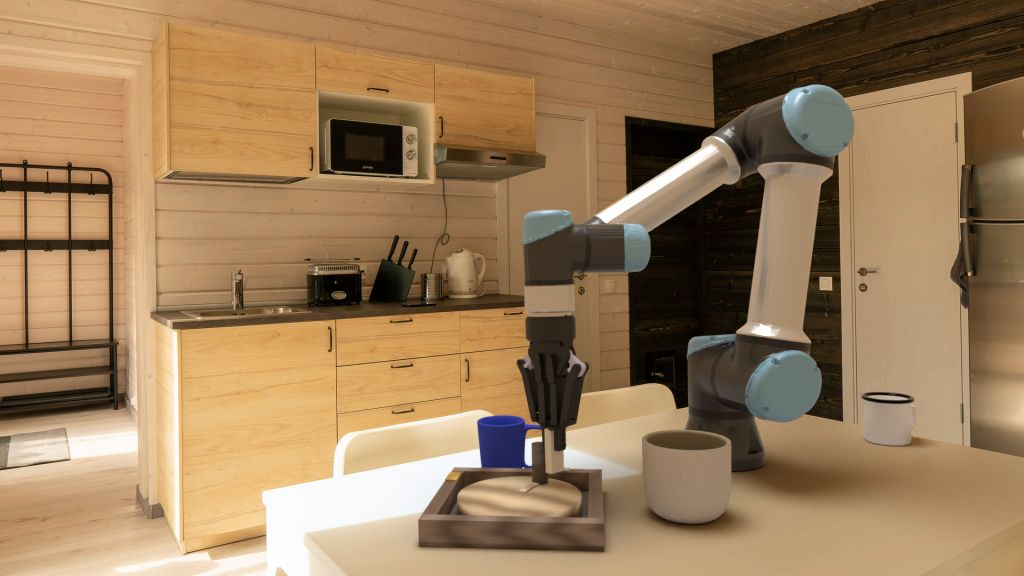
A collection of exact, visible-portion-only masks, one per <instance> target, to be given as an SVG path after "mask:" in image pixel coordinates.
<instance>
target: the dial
mask: <svg viewBox="0 0 1024 576" xmlns="http://www.w3.org/2000/svg"><path fill="white" fill-rule="evenodd" d="M531 466H532V476H513V477H501V478H494V479H488V480H484V481H480V482H477V483H474V484H471V485H469V486H467V487H465V488H463V489H462V490H461V491H460V492H459V493H458V496H457V507H458V515H479V516H526V517H573V518H580V516H581V514H582V495H581V492H580V490H579V489H578V488H576V487H575V486H573V485H571V484H569V483H566V482H563V481H560V480H556V479H551V478H548V473H546V463H545V449H544V448H543V446H542V441H533V442H531Z"/></svg>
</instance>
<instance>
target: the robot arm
mask: <svg viewBox="0 0 1024 576" xmlns="http://www.w3.org/2000/svg"><path fill="white" fill-rule="evenodd" d="M854 134H855V118H854V114H853V111H852V109H851V106H850V105H849V103H848V102H846V101H845V98H844V96H843V95H842V94H840V92H838V91H837V90H835V89H834V88H832V87H830V86H827V85H824V84H823V85H822V84H810V85H807V86H802V87H797V88H793V89H791V90H790V91H788V92H787V93H784V94H781V95H778V96H776V97H773V98H770V99H767V100H765V101H761V102H759V103H757V104H754V105H752V106H750V107H749V108H747V109H746V110H744V111H743V112H742V113H740V114H739V115H737V116H736V117H734V118H733V119H732V120H731V121H729V122H728V123H726V124H725V125H723V126H722V127H720V128H719V129H718V130H717V131H715V132H713V133H712V134H711V135H709V136H708V137H706V138H705V139H704V140H703V141H702V142H701V145H700V146H701V147H700V148H699V149H698V150H696V151H695V152H693V153H691V154H690V155H688V156H686V157H685V158H682V160H680V161H679V162H677V163H676V164H674V165H672V166H670V167H668V168H667V169H666V170H664V171H663V172H661V173H660V174H658V175H656V176H655V177H653V178H652V179H650V180H648V181H646V182H645V183H643V184H642V185H640V186H639V187H637V188H636V189H634V190H633V191H631V192H629V193H628V194H626V195H625V196H623V197H622V198H620V199H618V200H616V201H615V202H613V203H611V204H610V205H609V206H607V207H605V208H604V209H602V210H601V211H599V212H598V213H596V214H594V215H593V216H592V217H590V218H588V219H587V220H585V221H583V222H582V223H580V224H579V223H575V222H574V219H573V214H572V212H571V211H569V210H565V209H561V210H560V209H541V210H534V211H530V212H528V213H526V214H525V215H524V217H523V221H522V241H521V246H522V255H523V256H522V257H523V261H522V262H523V277H524V278H523V279H524V288H523V289H524V312H525V313H527V314H528V316H526V318H524V319H525V322H524V324H525V326H524V327H525V339H526V341H528V342H529V346H528V349H527V355H526V356H524V357H523V358H519V359H517V360H516V366H517V368H518V370H519V372H520V374H521V378H522V382H523V383H522V384H523V388H524V394H525V398H526V402H527V407H528V411H529V418H530V420H531V422H532V423H536V424H537V425H540V427H541V428H542V430H541V437H542V439H541V442H542V446H543V448H544V449H545V463H546V473H550V474H554V473H557V472H560V471H563V470H564V468H565V461H564V459H565V457H564V456H565V455H564V454H565V453H564V451H565V450H566V449H567V432H566V431H567V428H568V427H571V426H574V425H576V424H577V422H578V417H579V411H580V405H581V399H582V392H583V386H584V380H585V377H586V375H587V374H588V371H589V370H590V364H589V363H588V362H586V361H585V362H582V361H581V360H580V359H579V358H578V357H576V356H577V353H576V350H575V348H574V340H575V339H576V336H577V333H576V332H577V330H576V329H577V327H576V324H577V323H576V317H575V316H574V315H572V312H574V311H575V310H576V306H575V305H576V304H575V299H576V298H575V274H577V275H578V274H580V275H581V274H614V273H615V274H617V273H619V274H620V273H623V274H627V273H634V272H636V273H637V272H641V271H643V270H644V269H646V267H647V265H648V263H649V261H650V258H651V252H652V251H651V249H652V248H651V238H650V235H649V232H651V231H653V230H654V229H655V228H658V227H659V226H660V225H661V224H663V223H665V222H666V221H667V220H670V219H672V218H673V217H674V216H675V215H677V214H679V213H681V211H684V210H685V209H686V208H688V207H689V206H691V205H693V204H694V203H696V202H697V201H699V200H701V199H703V197H705V196H706V195H708V194H710V193H711V192H713V191H714V190H716V189H717V188H718V187H720V186H722V185H723V184H725V185H733V184H736V183H737V182H739V181H740V180H741V179H744V178H746V177H748V176H750V175H752V174H756V173H759V174H760V175H761V177H762V178H763V179H764V181H765V182H764V183H765V184H764V191H763V197H762V198H763V199H762V205H761V213H760V220H759V229H758V235H757V237H758V238H757V243H756V250H755V251H756V252H755V259H754V268H753V274H752V275H753V276H752V282H751V291H750V295H749V297H750V298H749V304H748V313H747V319H746V320H747V321H746V323H745V324H744V325H743V326H741V327H740V328H739V329H737V330H736V332H735V333H734V334H733V333H732V334H719V335H718V334H716V335H701V336H694V337H692V338H691V339H690V340H688V341H689V342H688V343H687V344H688V345H687V355H686V360H687V396H688V397H687V398H688V415H687V416H688V417H687V421H686V424H685V427H684V430H696V431H704V432H710V433H715V434H719V435H722V436H724V437H726V438H728V439H729V440H730V441H731V472H740V471H750V470H754V469H756V470H757V469H759V468H761V467H763V466H765V465H766V449H765V446H764V443H763V439H762V436H761V435H760V431H759V428H758V425H757V421H756V418H758V419H759V420H763V421H768V422H769V421H770V422H776V423H789V422H793V421H796V420H798V419H800V418H802V417H803V415H805V414H806V413H808V412H809V411H810V410H812V408H813V407H814V405H815V404H816V403H817V401H818V399H819V396H820V394H821V390H822V385H823V384H822V382H823V379H822V372H821V369H820V368H819V367H818V366H817V365H818V364H817V362H816V361H815V360H814V358H813V357H811V356H810V355H811V354H810V352H811V344H812V341H811V339H810V338H809V337H808V336H807V335H806V333H805V332H804V330H803V329H804V319H805V313H806V306H807V305H806V303H807V296H808V295H807V294H808V290H809V289H808V288H809V281H810V272H811V267H812V266H811V265H812V258H813V257H812V256H813V249H814V241H815V235H816V234H815V233H816V226H817V217H818V210H819V203H820V196H821V195H820V194H821V186H822V184H823V183H824V182H825V181H827V180H828V179H829V178H830V177H831V176H833V173H834V165H835V159H836V158H835V157H836V156H838V155H839V154H840V153H842V152H843V151H845V149H846V148H847V147H848V146H850V143H851V142H852V139H854V138H853V137H854Z"/></svg>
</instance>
